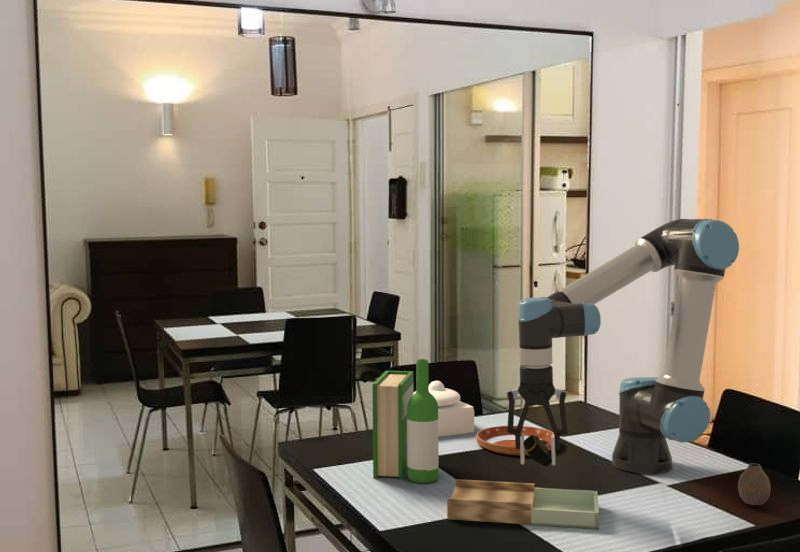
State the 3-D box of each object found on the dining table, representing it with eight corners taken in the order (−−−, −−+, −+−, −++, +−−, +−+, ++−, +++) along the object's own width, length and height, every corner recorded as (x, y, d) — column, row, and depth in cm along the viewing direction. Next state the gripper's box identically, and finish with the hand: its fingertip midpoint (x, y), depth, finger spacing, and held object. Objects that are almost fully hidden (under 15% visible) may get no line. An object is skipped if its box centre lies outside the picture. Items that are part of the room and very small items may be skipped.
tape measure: (544, 471, 204) (556, 461, 203) (525, 457, 201) (537, 447, 200) (535, 452, 210) (546, 442, 209) (516, 438, 206) (528, 428, 205)
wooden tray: (534, 502, 201) (534, 483, 201) (531, 524, 188) (531, 503, 187) (456, 498, 205) (456, 479, 205) (447, 519, 191) (447, 498, 191)
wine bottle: (407, 474, 223) (406, 357, 221) (438, 474, 223) (438, 357, 221) (406, 484, 215) (406, 362, 213) (438, 484, 215) (438, 362, 213)
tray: (597, 506, 199) (597, 491, 199) (598, 529, 185) (598, 513, 184) (534, 502, 202) (534, 487, 201) (531, 525, 187) (531, 508, 187)
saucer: (571, 444, 252) (571, 431, 252) (538, 464, 233) (538, 450, 232) (498, 433, 264) (498, 421, 264) (462, 451, 245) (462, 438, 245)
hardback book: (402, 480, 219) (402, 384, 217) (373, 478, 220) (372, 383, 218) (413, 460, 236) (413, 371, 234) (386, 459, 237) (385, 370, 236)
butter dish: (420, 443, 254) (420, 388, 252) (395, 429, 270) (395, 377, 269) (474, 436, 261) (474, 383, 259) (446, 423, 277) (446, 373, 276)
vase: (767, 509, 196) (768, 470, 196) (734, 504, 200) (735, 466, 199) (772, 500, 202) (773, 463, 201) (740, 495, 206) (741, 458, 205)
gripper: (578, 362, 205) (580, 459, 207) (495, 362, 209) (497, 457, 211) (578, 368, 198) (580, 469, 200) (492, 368, 202) (494, 466, 204)
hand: (538, 462), depth 205 cm, fingers closed on tape measure, 6 cm apart
